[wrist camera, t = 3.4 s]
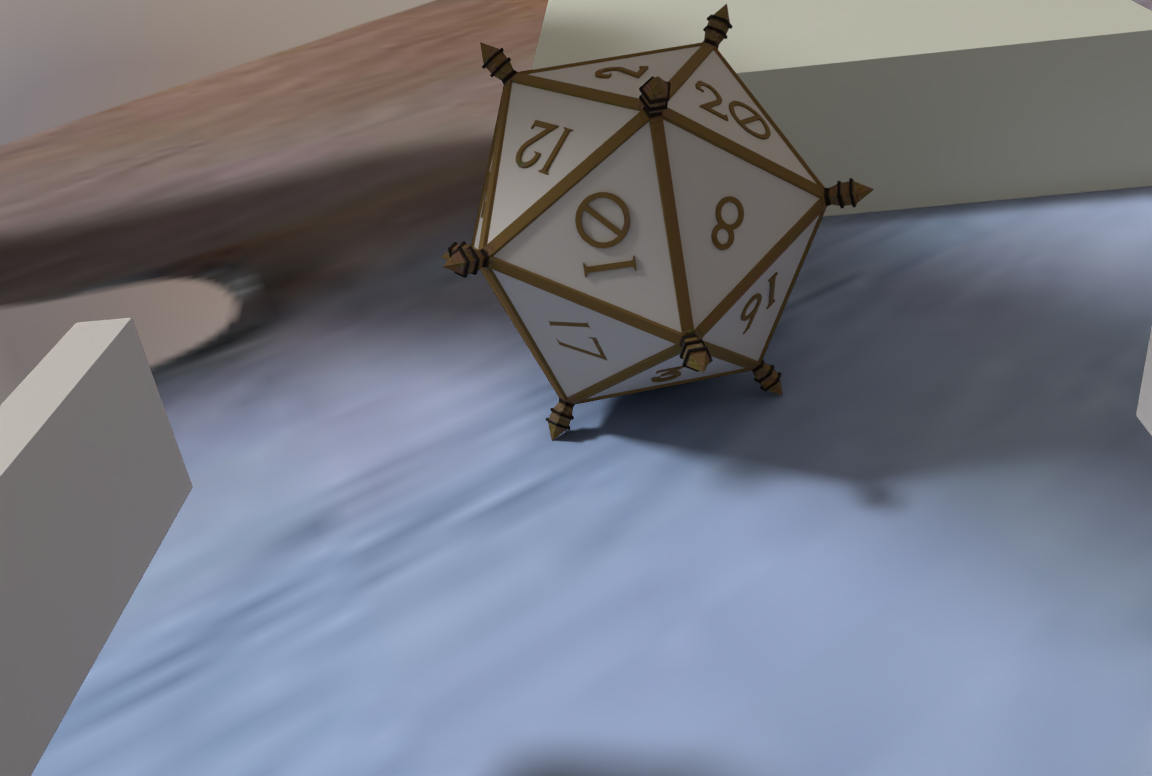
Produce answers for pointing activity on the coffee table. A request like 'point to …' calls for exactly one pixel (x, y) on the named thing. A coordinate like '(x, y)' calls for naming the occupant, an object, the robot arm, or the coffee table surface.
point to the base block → (917, 87)
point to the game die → (642, 220)
